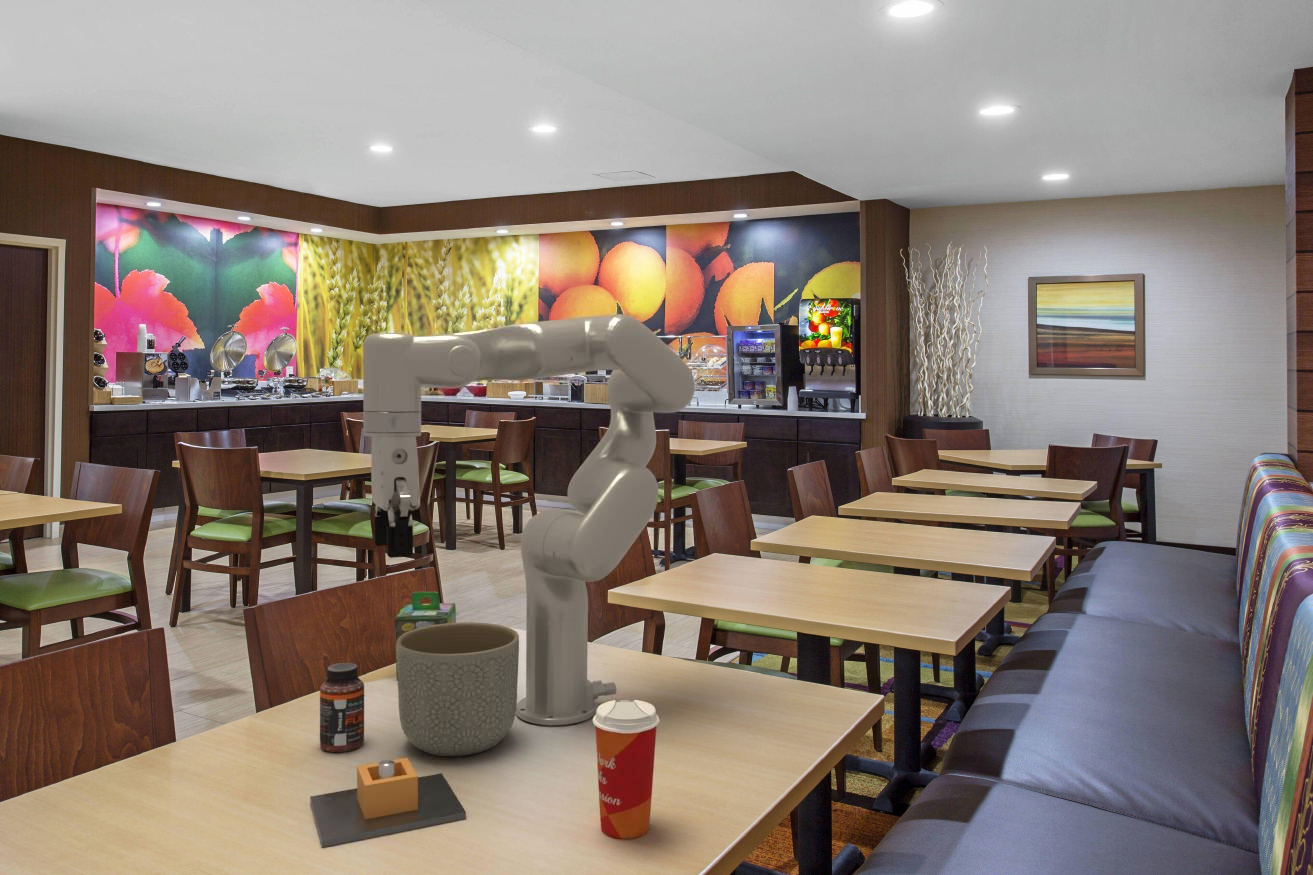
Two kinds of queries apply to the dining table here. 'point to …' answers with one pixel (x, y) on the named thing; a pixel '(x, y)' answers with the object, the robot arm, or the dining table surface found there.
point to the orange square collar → (387, 790)
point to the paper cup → (625, 766)
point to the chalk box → (423, 614)
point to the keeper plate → (346, 821)
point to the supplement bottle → (341, 709)
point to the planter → (457, 686)
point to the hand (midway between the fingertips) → (393, 550)
